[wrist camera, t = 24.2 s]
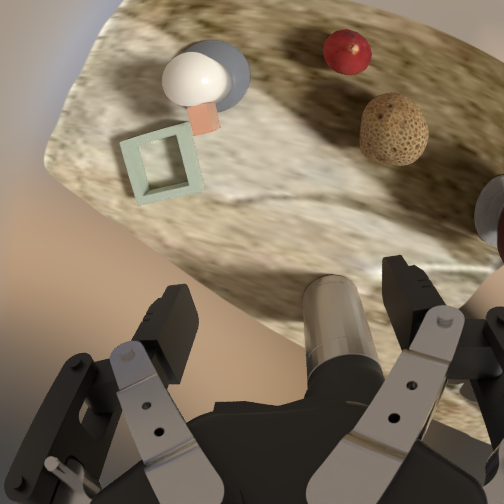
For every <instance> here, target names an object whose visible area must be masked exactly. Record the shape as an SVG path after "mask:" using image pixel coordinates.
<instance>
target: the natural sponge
mask: <svg viewBox="0 0 504 504" xmlns="http://www.w3.org/2000/svg"><path fill="white" fill-rule="evenodd" d="M428 137H429V129H428V125H427V123H426V120H425V118H424V116H423V114H422V112H421V110H420V109H419V107H418V106H417V105H416V104H415V103H414V102H413V101H411V100H410V99H409V98H407V97H406V96H404V95H401V94H397V93H385V94H382V95H379V96H377V97H375V98H374V99H373V100H371V101H370V102H369V103H368V104H367V106H366V107H365V109H364V111H363V114H362V118H361V127H360V149H361V152H362V153H363V155H364V156H365V157H367V158H368V159H370V160H373V161H376V162H380V163H385V164H390V165H397V166H404V165H409V164H411V163H413V162H415V161H416V160H417V159H418V158H419V157H420V156H421V155H422V153H423V152H424V150H425V148H426V145H427V142H428Z"/></svg>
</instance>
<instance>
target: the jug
mask: <svg viewBox="0 0 504 504" xmlns="http://www.w3.org/2000/svg"><path fill="white" fill-rule="evenodd" d="M162 87H163V90H164V92H165V94H166V96H167V97H168V98H169V99H170V100H171V101H172V102H174V103H176V104H178V105H181V106H192V107H188V108H187V111H188V115H189V119H190V123H191V128H192V132H193V136H196V135H201V134H205V133H209V132H213V131H215V130H217V129H219V128H221V126H220V122H219V117H218V113H217V108H216V104H215V103H219V102H221V101H223V100H224V99H226V98H227V97H228V96H229V94H230V93H231V91H232V88H233V76H232V74H231V72H230V71H229V69H228V68H227V67H225V66H224V65H222V64H220V63H218V62H217V61H215V60H213V59H211V58H209V57H207V56H205V55H203V54H201V53H197V52H186V53H182V54H180V55H178V56H176V57H175V58H173V59H172V60H171V61H170V62H169V63H168V64H167V66H166V67H165V69H164V72H163V75H162Z"/></svg>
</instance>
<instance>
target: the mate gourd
mask: <svg viewBox="0 0 504 504" xmlns="http://www.w3.org/2000/svg"><path fill="white" fill-rule="evenodd" d="M474 223H475V227H476V230H477V233H478V235H479V236H480V237H481V239H483V240H484V241H485V242H486V243H488V244H490V245H495V246H497V247H498V251H499V254H500V257H501V259H502V261H503V262H504V175H501V176H497V177H495V178H493V179H492V180H491V181H489V182H488V183H487V184H486V186H485V187H484V188H483V189H482V191H481V193H480V195H479V197H478V199H477V202H476V206H475V212H474Z"/></svg>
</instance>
